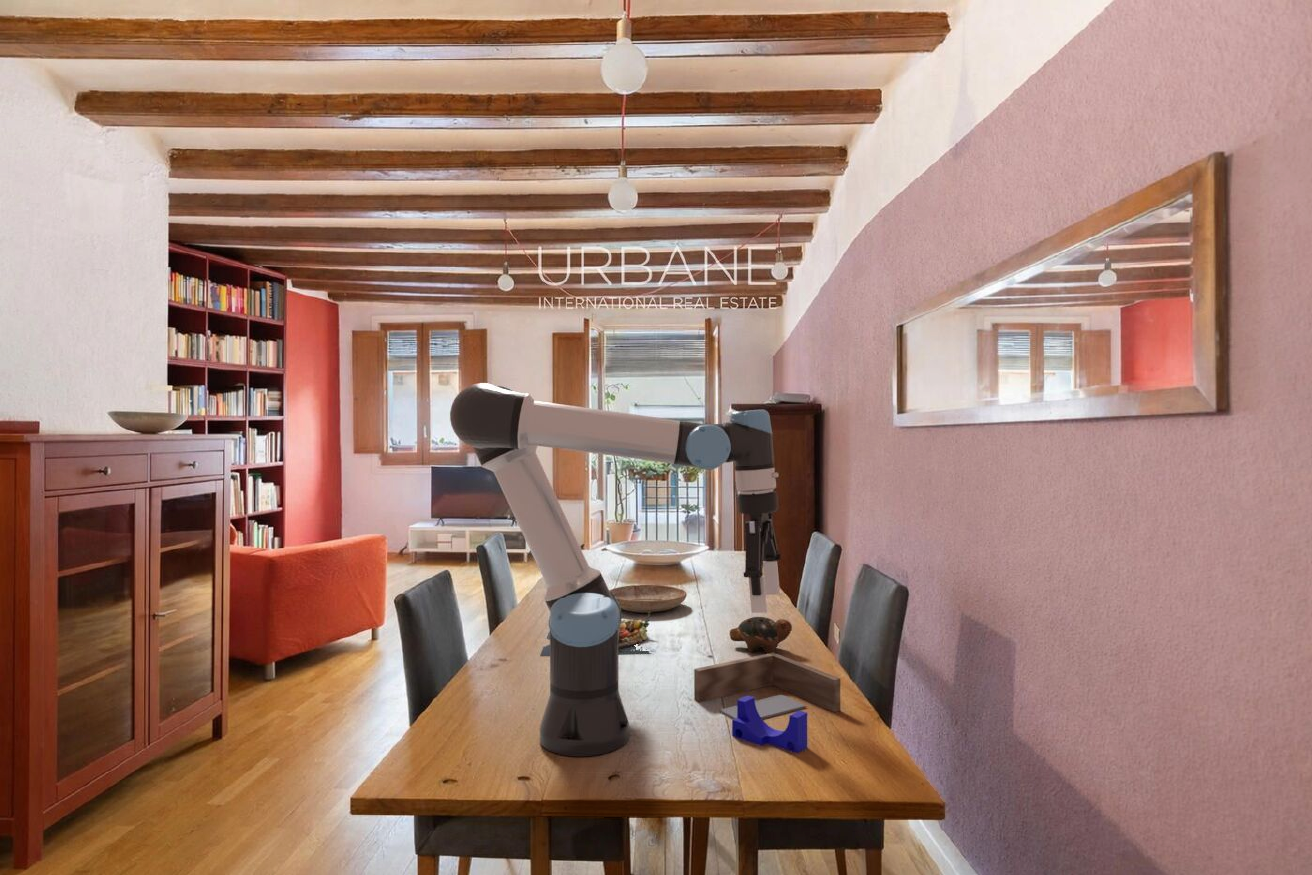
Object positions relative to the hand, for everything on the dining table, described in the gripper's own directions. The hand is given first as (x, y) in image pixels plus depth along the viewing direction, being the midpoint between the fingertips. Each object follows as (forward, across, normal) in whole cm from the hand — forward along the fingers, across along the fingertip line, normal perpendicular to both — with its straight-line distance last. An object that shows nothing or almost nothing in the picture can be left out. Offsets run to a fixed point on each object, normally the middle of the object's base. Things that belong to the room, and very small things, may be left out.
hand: (766, 602), depth 140 cm
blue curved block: (+20, -16, -2) cm, 26 cm away
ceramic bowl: (+18, +65, +50) cm, 84 cm away
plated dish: (+18, +29, +48) cm, 59 cm away
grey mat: (+20, -3, +2) cm, 20 cm away
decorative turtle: (+20, +35, +10) cm, 41 cm away
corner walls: (+20, 0, +2) cm, 20 cm away
